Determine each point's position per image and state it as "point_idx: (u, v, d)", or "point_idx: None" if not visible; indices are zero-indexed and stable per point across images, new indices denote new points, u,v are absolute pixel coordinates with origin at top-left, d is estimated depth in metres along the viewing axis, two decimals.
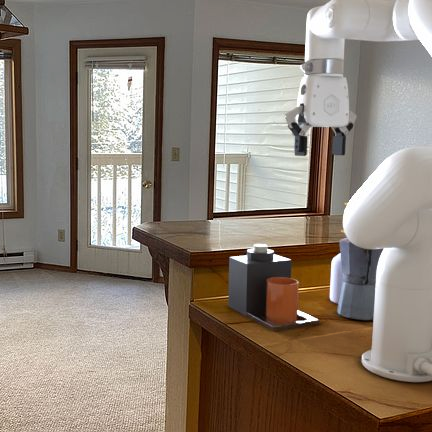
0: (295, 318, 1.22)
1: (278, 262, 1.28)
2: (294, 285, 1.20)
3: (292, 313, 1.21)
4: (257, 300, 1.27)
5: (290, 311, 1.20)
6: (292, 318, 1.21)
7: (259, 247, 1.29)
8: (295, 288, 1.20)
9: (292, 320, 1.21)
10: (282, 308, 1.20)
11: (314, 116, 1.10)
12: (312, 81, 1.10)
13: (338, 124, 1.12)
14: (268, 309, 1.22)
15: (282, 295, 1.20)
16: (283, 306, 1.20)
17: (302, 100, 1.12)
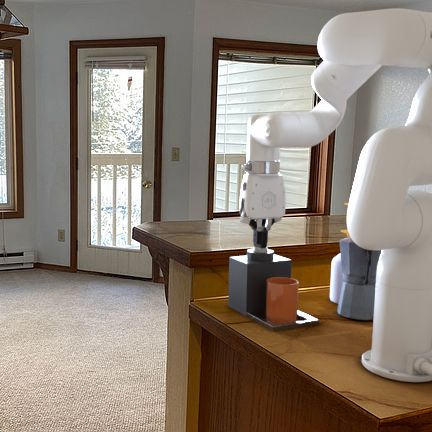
0: (295, 318, 1.22)
1: (278, 262, 1.28)
2: (294, 285, 1.20)
3: (292, 313, 1.21)
4: (257, 300, 1.27)
5: (290, 311, 1.20)
6: (292, 318, 1.21)
7: (259, 249, 1.29)
8: (295, 288, 1.20)
9: (292, 320, 1.21)
10: (282, 308, 1.20)
11: (253, 211, 1.25)
12: (251, 180, 1.25)
13: (275, 216, 1.27)
14: (268, 309, 1.22)
15: (282, 295, 1.20)
16: (283, 306, 1.20)
17: (243, 195, 1.27)
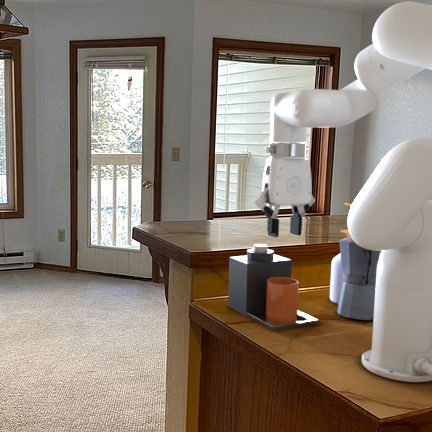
0: (295, 318, 1.22)
1: (278, 262, 1.28)
2: (294, 285, 1.20)
3: (292, 313, 1.21)
4: (257, 300, 1.27)
5: (290, 311, 1.20)
6: (292, 318, 1.21)
7: (259, 247, 1.29)
8: (295, 288, 1.20)
9: (292, 320, 1.21)
10: (282, 308, 1.20)
11: (277, 196, 1.16)
12: (275, 164, 1.16)
13: (301, 202, 1.18)
14: (268, 309, 1.22)
15: (282, 295, 1.20)
16: (283, 306, 1.20)
17: (267, 180, 1.18)
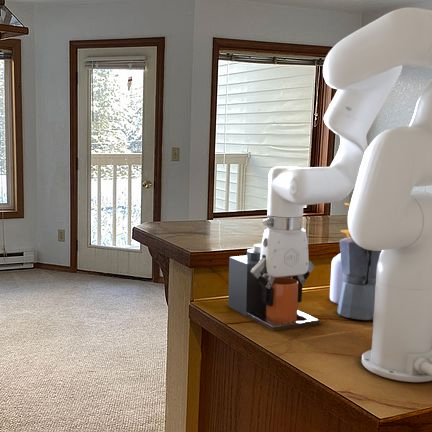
0: (295, 318, 1.22)
1: None
2: (294, 285, 1.20)
3: (292, 313, 1.21)
4: (257, 300, 1.27)
5: (290, 311, 1.20)
6: (292, 318, 1.21)
7: (259, 247, 1.29)
8: (295, 288, 1.20)
9: (292, 320, 1.21)
10: (282, 308, 1.20)
11: (275, 269, 1.18)
12: (273, 237, 1.18)
13: (298, 273, 1.21)
14: (268, 309, 1.22)
15: (282, 295, 1.20)
16: (283, 306, 1.20)
17: (264, 252, 1.20)
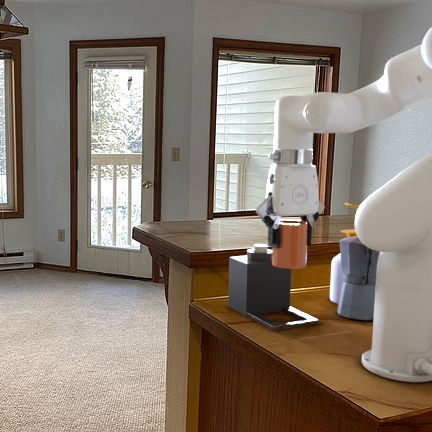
0: (304, 262, 1.12)
1: None
2: (303, 225, 1.10)
3: (301, 256, 1.11)
4: (257, 300, 1.27)
5: (299, 254, 1.11)
6: (301, 261, 1.11)
7: (259, 247, 1.29)
8: (304, 229, 1.11)
9: (301, 263, 1.11)
10: (290, 250, 1.11)
11: (282, 207, 1.09)
12: (280, 172, 1.08)
13: (307, 213, 1.11)
14: (275, 252, 1.13)
15: (290, 236, 1.10)
16: (291, 248, 1.11)
17: (270, 189, 1.10)
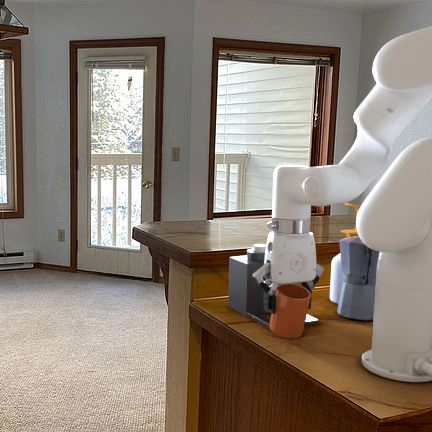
0: (301, 331, 1.13)
1: None
2: (306, 300, 1.10)
3: (299, 327, 1.12)
4: (257, 300, 1.27)
5: (298, 325, 1.12)
6: (298, 332, 1.13)
7: (259, 247, 1.29)
8: (306, 303, 1.10)
9: (298, 334, 1.13)
10: (289, 321, 1.11)
11: (280, 275, 1.10)
12: (278, 241, 1.09)
13: (305, 280, 1.12)
14: (274, 319, 1.14)
15: (292, 310, 1.10)
16: (291, 320, 1.11)
17: (269, 257, 1.11)
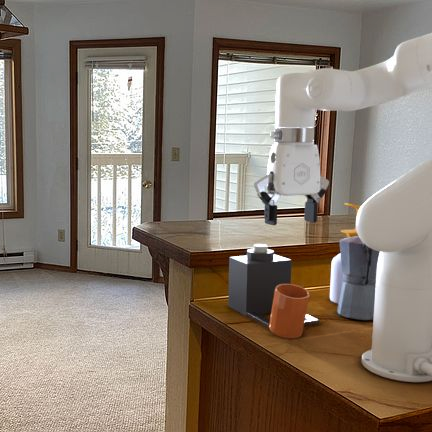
0: (301, 331, 1.13)
1: (278, 262, 1.28)
2: (305, 299, 1.10)
3: (299, 327, 1.12)
4: (257, 300, 1.27)
5: (297, 325, 1.12)
6: (298, 332, 1.13)
7: (259, 247, 1.29)
8: (305, 302, 1.11)
9: (298, 334, 1.13)
10: (289, 321, 1.12)
11: (284, 186, 1.07)
12: (281, 150, 1.07)
13: (309, 192, 1.10)
14: (273, 319, 1.14)
15: (291, 309, 1.11)
16: (290, 320, 1.11)
17: (272, 168, 1.09)
